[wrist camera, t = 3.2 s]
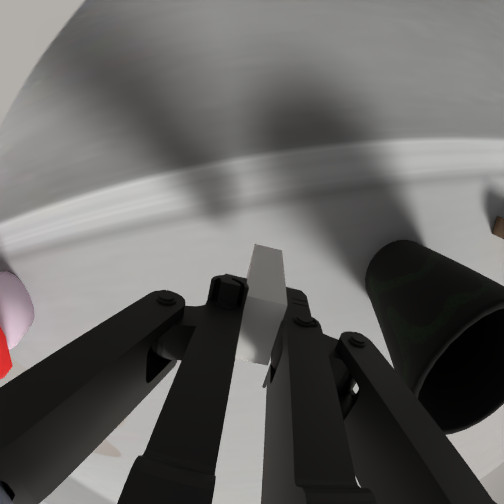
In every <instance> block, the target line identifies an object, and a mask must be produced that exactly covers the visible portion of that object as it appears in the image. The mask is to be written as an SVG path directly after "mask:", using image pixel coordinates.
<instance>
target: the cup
mask: <svg viewBox="0 0 504 504" xmlns="http://www.w3.org/2000/svg"><path fill="white" fill-rule="evenodd" d="M365 281H366V289H367V292H368V295H369V298H370V300H371V303H372V306H373V308H374V311H375V314H376V317H377V319H378V322H379V325H380V328H381V331H382V333H383V336H384V339H385V342H386V345H387V348H388V351H389V354H390V357H391V360H392V363H393V366H394V369H395V371H396V372H397V374H398V375H399V376H400V377H401V379H402V380H403V381H404V382H405V384H406V385H407V386H408V387H409V389H410V390H411V391H412V393H413V394H414V395H415V396H416V398H417V399H418V400H419V401H420V403H421V404H422V405H423V407H424V408H425V409H426V410H427V412H428V413H429V414H430V416H431V417H432V418H433V420H434V421H435V422H436V423H437V425H438V426H439V427H440V429H441V430H442V431H443V433H444V434H445V435H447V434H453V433H456V432H459V431H462V430H465V429H467V428H469V427H471V426H473V425H475V424H477V423H479V422H481V421H482V420H484V419H485V418H487V417H488V416H490V415H491V414H492V413H494V412H495V411H496V410H497V409H498V408H499V407H501V406H502V405H503V404H504V286H502V285H500V284H499V283H497V282H495V281H493V280H491V279H489V278H487V277H485V276H483V275H481V274H480V273H478V272H476V271H474V270H472V269H470V268H468V267H466V266H464V265H462V264H460V263H458V262H456V261H454V260H452V259H450V258H448V257H446V256H443V255H441V254H439V253H437V252H435V251H433V250H431V249H429V248H427V247H424V246H422V245H420V244H418V243H416V242H413V241H409V240H399V241H395V242H392V243H390V244H388V245H386V246H385V247H383V248H382V249H381V250H380V251H379V252H377V253H376V254H375V256H374V257H373V259H372V260H371V262H370V264H369V266H368V269H367V272H366V278H365Z"/></svg>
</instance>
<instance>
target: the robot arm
mask: <svg viewBox="0 0 504 504" xmlns="http://www.w3.org/2000/svg"><path fill="white" fill-rule="evenodd" d="M270 357H271V364H270V367H269V370H268V372H267V375H266V378H265V381H264V384H263V388H265V387H266V385H267V394H266V418H265V440H264V460H263V479H262V497H261V504H497V503H495V502H494V501H493V500H492V499H491V497H490V496H489V494H488V493H487V491H486V490H485V489H484V487H483V486H482V484H481V483H480V481H479V480H478V479H477V477H476V476H475V475H474V473H473V472H472V470H471V469H470V468H469V466H468V465H467V464H466V462H465V461H464V459H463V458H462V457H461V455H460V454H459V453H458V451H457V450H456V449H455V447H454V446H453V445H452V443H451V442H450V441H449V439H448V438H447V437H446V435H445V434H444V433H443V431H442V430H441V429H440V427H439V426H438V425H437V423H436V422H435V421H434V420H433V418H432V417H431V416H430V414H429V413H428V412H427V410H426V409H425V408H424V407H423V405H422V404H421V403H420V401H419V400H418V399H417V398H416V396H415V395H414V394H413V393H412V391H411V390H410V389H409V387H408V386H407V385H406V384H405V382H404V381H403V380H402V379H401V377H400V376H399V375H398V374H397V372H396V371H395V370H394V369H393V367H392V366H391V365H390V364H389V362H388V361H387V360H386V359H385V358H384V356H383V355H382V354H381V353H380V351H379V350H378V349H377V348H376V346H375V345H374V344H373V343H372V342H371V341H370V340H369V339H368V338H367V337H365V336H363V335H362V334H360V333H357V332H344V333H342V334H341V336H340V338H339V340H338V339H335V338H332V337H329V336H327V335H325V334H323V333H322V329H321V325H320V323H319V322H318V321H317V320H316V319H315V318H313V317H311V313H310V309H309V305H308V300H307V296H306V295H305V294H304V293H303V292H302V291H301V290H297V289H292V288H288V287H286V285H285V275H284V266H283V257H282V250H278V249H273V248H269V247H265V246H261V245H257V244H255V246H254V250H253V254H252V258H251V262H250V266H249V270H248V274H247V278H242V277H238V276H234V275H230V274H225V275H219V276H215V277H213V278H212V280H211V285H210V290H209V295H208V300H207V302H206V305H203V306H185V299H184V298H183V297H182V296H180V295H179V294H177V293H174V292H172V291H168V290H167V291H166V290H160V291H154V292H151V293H150V294H148V295H146V296H145V297H143V298H141V299H140V300H138V301H136V302H135V303H133V304H132V305H130V306H128V307H127V308H125V309H123V310H122V311H120V312H119V313H117V314H115V315H114V316H112V317H110V318H109V319H107V320H106V321H104V322H102V323H101V324H99V325H98V326H96V327H94V328H93V329H91V330H90V331H88V332H86V333H85V334H83V335H82V336H80V337H78V338H77V339H75V340H74V341H72V342H70V343H69V344H67V345H66V346H64V347H63V348H61V349H59V350H58V351H56V352H55V353H53V354H51V355H50V356H48V357H47V358H45V359H44V360H42V361H41V362H39V363H37V364H36V365H34V366H33V367H31V368H30V369H28V370H26V371H25V372H23V373H22V374H20V375H19V376H17V377H16V378H14V379H13V380H11V381H9V382H8V383H6V384H5V385H4V386H2V387H0V504H39V503H40V502H41V501H42V500H44V499H45V498H46V497H47V496H48V495H50V494H51V493H52V492H53V491H54V490H55V489H56V488H57V487H58V486H59V485H60V484H61V483H62V482H63V481H64V480H65V479H66V478H67V477H68V476H69V475H70V474H71V473H72V472H73V471H74V470H75V469H76V468H77V467H78V466H79V465H80V464H81V463H82V462H83V461H84V460H85V459H86V458H87V457H88V456H89V455H90V454H91V453H92V452H93V451H94V450H95V448H97V447H98V446H99V444H101V443H102V441H103V440H104V439H105V438H106V437H107V436H108V435H109V434H110V433H111V432H112V431H113V430H114V429H115V428H116V427H117V426H118V425H119V424H120V423H121V422H122V421H123V420H124V419H125V418H126V417H127V416H128V415H129V414H130V413H131V412H132V411H133V410H134V408H135V407H136V406H137V405H138V404H139V403H140V402H141V401H142V400H143V399H144V398H145V397H146V396H147V395H148V394H149V393H150V392H151V391H152V390H153V389H154V388H155V386H156V385H157V384H158V383H159V382H160V381H161V380H162V379H163V378H164V377H165V376H166V375H167V374H168V373H169V372H170V371H171V370H172V368H173V367H174V366H175V365H176V363H177V360H182V361H181V364H180V366H179V369H178V371H177V373H176V376H175V378H174V381H173V383H172V386H171V388H170V390H169V393H168V395H167V398H166V400H165V403H164V405H163V408H162V410H161V413H160V415H159V418H158V420H157V422H156V425H155V427H154V430H153V433H152V435H151V438H150V440H149V443H148V445H147V448H146V450H145V452H144V454H143V455H142V456H138V457H137V458H136V460H135V462H134V464H133V466H132V468H131V470H130V473H129V475H128V478H127V480H126V483H125V485H124V488H123V490H122V493H121V495H120V498H119V500H118V503H117V504H212V498H213V493H214V486H215V478H216V476H215V468H216V463H217V457H218V451H219V446H220V440H221V435H222V429H223V423H224V418H225V412H226V407H227V401H228V395H229V390H230V384H231V378H232V373H233V367H234V361H235V358H236V359H240V360H245V361H249V362H254V363H259V364H263V365H268V363H269V360H270ZM356 383H357V384H358V387H359V390H358V392H357V393H356V394H355V393H354V391H353V387H354V386H355V384H356ZM355 476H356V478H357V480H358V482H359V484H360V486H361V488H360V487H359V486H358V485H357V482H356V478H355Z"/></svg>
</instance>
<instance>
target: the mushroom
mask: <svg viewBox="0 0 504 504" xmlns="http://www.w3.org/2000/svg"><path fill="white" fill-rule="evenodd" d="M33 319H34V307H33V304H32V301H31V298H30V295H29V293H28V292H27V290H26V288H25V286H24V285H23V283H22V282H21V281H20V280H19V279H18V278H17V277H16V276H15V275H14V274H12V273H10V272H8V271H1V272H0V379H2V378H3V377H5V376H6V374H7V373H8V372H9V370H10V369H11V368H12V362H11V358H10V354H9V350H10V349H12V348H13V347H15V346H16V345H17V344H18V342H19V341H20V339H21V338H22V337H23V335H24V334H25V333H26V331H27V330H28V329H29V327H30V326H31V325H32V322H33Z"/></svg>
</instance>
